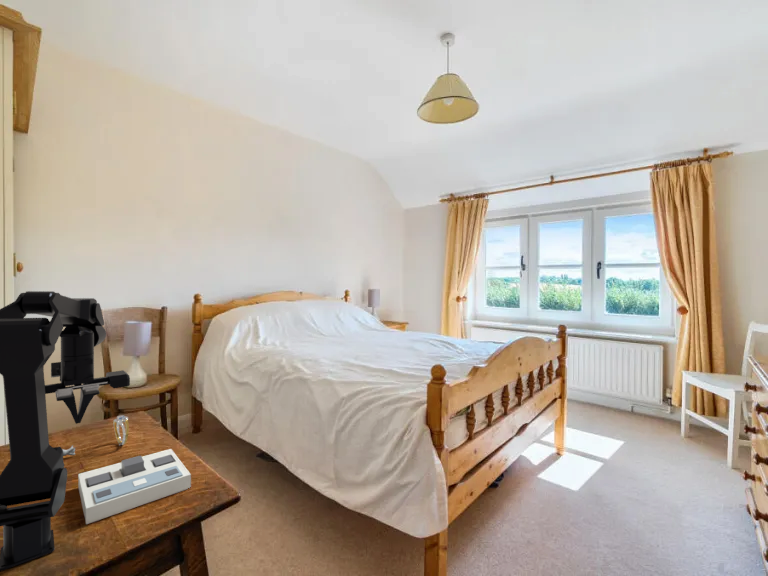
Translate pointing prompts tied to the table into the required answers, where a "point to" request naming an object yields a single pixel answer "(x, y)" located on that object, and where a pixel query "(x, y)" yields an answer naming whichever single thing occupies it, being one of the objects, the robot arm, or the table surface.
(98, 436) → the table surface
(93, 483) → the button left
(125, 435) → the ring
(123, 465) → the button middle
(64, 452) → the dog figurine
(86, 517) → the button board
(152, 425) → the table surface
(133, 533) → the table surface
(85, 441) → the table surface
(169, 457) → the button right
